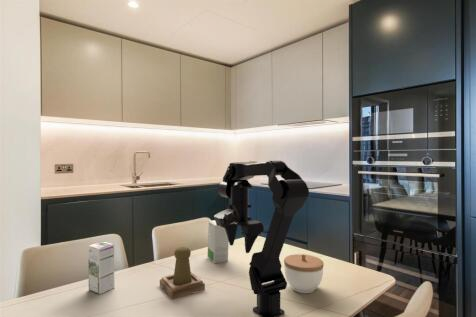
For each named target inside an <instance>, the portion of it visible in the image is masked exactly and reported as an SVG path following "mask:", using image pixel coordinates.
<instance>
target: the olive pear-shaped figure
mask: <svg viewBox="0 0 476 317" xmlns="http://www.w3.org/2000/svg"><path fill="white" fill-rule="evenodd" d="M191 253H192V252H191V249H190V248H189V247H188V246H181V247H177V248H175V250H174V255H173V256H174V257H175V263H174V264H175V265H174V270H173V272H174V273H173V274H174V278H173V283H174V284H175V285H183V284H187V283H191V282H192V279H191V272H192V271H191V266H190V265H191V264H190V263H191V262H190V257H191Z"/></svg>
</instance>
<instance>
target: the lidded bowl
mask: <svg viewBox="0 0 476 317" xmlns="http://www.w3.org/2000/svg"><path fill="white" fill-rule="evenodd" d="M283 264H284V266H283V267H284V268H283V269H284V277H285V280H286V282H287V284H289V286H290V287H291V289H292V290H293V291H295V292H297V293H301V294H311V293H313V292H315V289H317V288H318V287H319V286H320V284H321V282H322V279H323V275H324V266H325V265H324V261H323V260H322V259H321V258H319V257H317V256H314V255H310V254H305V253H302V254H299V253H297V254H289V255H286V257H284V258H283Z"/></svg>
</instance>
